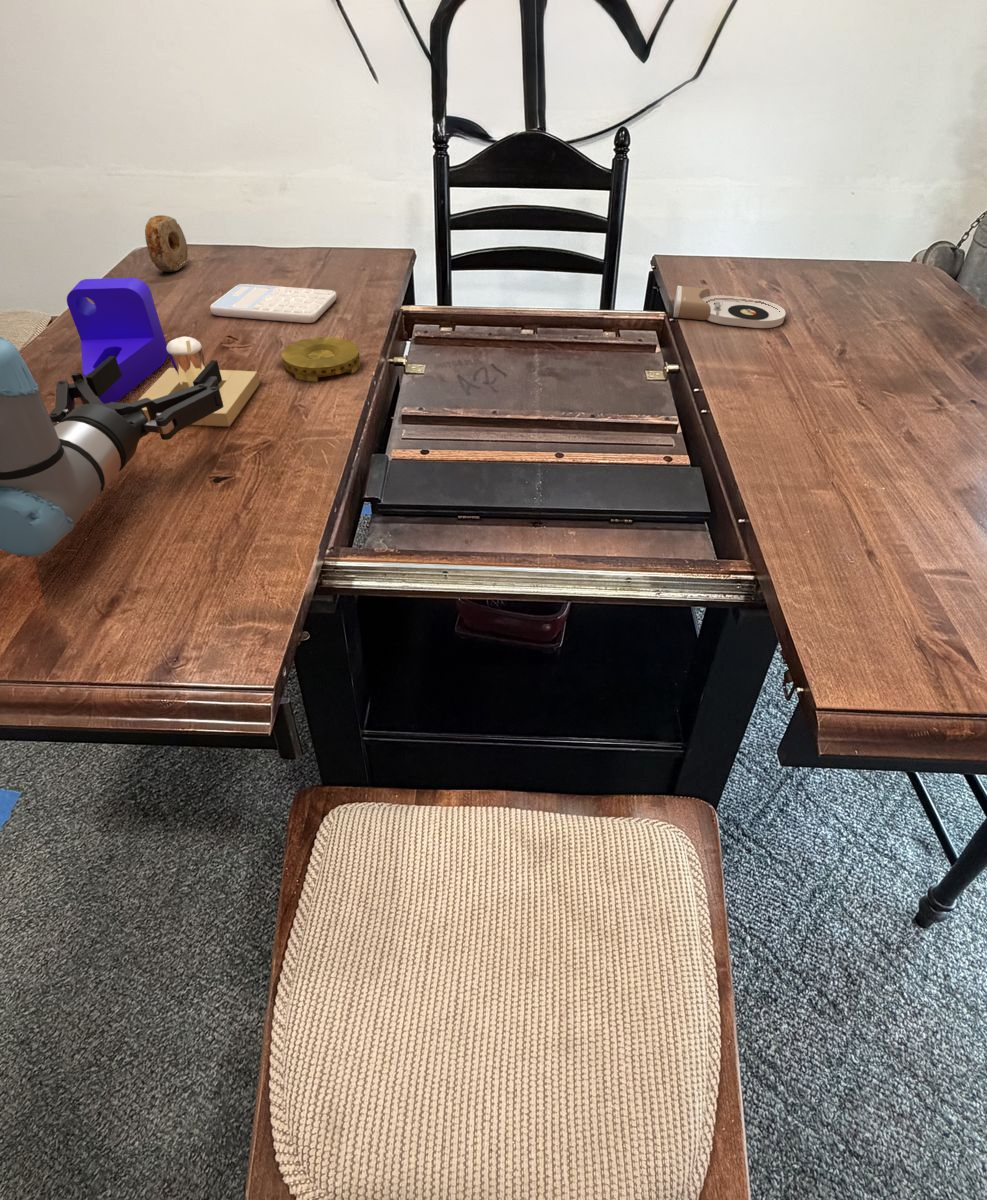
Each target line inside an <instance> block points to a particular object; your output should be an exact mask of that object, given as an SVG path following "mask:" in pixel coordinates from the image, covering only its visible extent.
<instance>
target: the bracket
mask: <svg viewBox="0 0 987 1200" xmlns="http://www.w3.org/2000/svg"><path fill="white" fill-rule="evenodd" d="M88 299H89V300H91V301H92V302H93V303H92V302H90V301H89V300H88ZM66 304H67V307H68V310H69V312H70V316H71V317H72V320H73V323H74V326H75V328H76V331H77V335H78V336H79V339H80V348H81V350H80V351H81V364H82V365H81V366H82V376H83V378H84V377H85V376H86V375H87V374H88V373H90V372H92V371H93V370H94V369H96V368H97V367H98V366H99V365H100V364H101V363H102V362H103V361H105V360H106V359H107V358H108V357H109V356H115V357H116V360H117V363H118V366H119V368H120V371H121V374H122V376H121V377H120V378H119V379H118V380H117V381H116V382H115V383H114V384H113V385H112V386H111V387H110V388H109V389H108V390H107V391H106V392H105V393H104V394H103V395H102V396H101V397H99V399H100V401H101V402H103V404H107V403H110V402H118V401H119V402H120V401H121V400H122V399H123V398H124V397H125V396H127V394H129V393H130V392H132V391H133V389H135V388H136V387H138V385H140V384H141V383H142V382H143V381H145V380H146V379H147V378H148V377H150V376H151V375H153V373H154V372H156V371H157V370H158V369H159V368H160V367H162V366H163V365H164V363H165V361H166V359H167V358H168V356H169V354H168V351H167V349H166V347H167V345H168V343H167V341H166V338H165V335H164V331H163V328H162V325H161V324H162V323H161V322H160V318H159V315H158V311H157V308H156V304H155V301H154V298H153V294H152V291H151V289H150V287H149V286H148V284H146V282H144V281H143V280H142V279H139V278H136V277H113V278H112V277H110V278H108V277H107V278H84V279H82V280H80V281H78V282H77V284H76V285H75V286H74V287H73V288H72V289H71V290H70V291H69V292H68V294H67V296H66Z"/></svg>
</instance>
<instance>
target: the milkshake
mask: <svg viewBox="0 0 987 1200" xmlns="http://www.w3.org/2000/svg"><path fill="white" fill-rule="evenodd" d="M166 349H167V351H168V356H169V359H170V361H171V364H172V366H173V368H174V369H175V371H176V374H177V376H178V379H179V382H180V384H181V387H182V390H184V389H187V388H190V387H193V386H194V385H193V381H194V380H195V379H196V378H197V376H198V375H199V374H200V373H201V372H202V371H203V369H204V368H205V367H206V366H205V359H204V353H203V346H202V343H201V342H200V341H199V340H197V339H196V338H194V337H191V336H185V335H184V336H180V337H176V338H174V339H171V340H170V341H169V342H168V343H167V347H166Z"/></svg>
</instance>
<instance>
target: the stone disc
mask: <svg viewBox="0 0 987 1200" xmlns="http://www.w3.org/2000/svg"><path fill="white" fill-rule="evenodd" d="M144 236H145V237H144V238H145V242H146V243H145V244H146V247H147V251H148V256H149V258H150V260H151V262H152V263H153V265H154V266H155V267H156V269H158V270H159V271H162V272H165V273H167V272H168V273H169V272H170V273H171V272H172V273H173V272H177V271H179V270H180V269H181V268H183V267H184V266H185V265H186V263H187V261H188V256H189V255H188V244H187V240H186V237H185V234H184V231H183V229H182V227H181V226H180V223H178V221H177V220H176V218H174V217H172V216H169V215H165V214H164V215H163V214H161V215H154V216H151V217H150V218H149V219H148V220H147V222H146V224H145V229H144ZM186 260H187V261H186ZM184 261H186V262H185V263H183V262H184ZM182 263H183V264H182ZM180 264H182V265H180ZM179 265H180V266H179ZM177 266H178V267H177Z"/></svg>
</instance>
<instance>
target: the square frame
mask: <svg viewBox="0 0 987 1200" xmlns="http://www.w3.org/2000/svg"><path fill="white" fill-rule="evenodd" d="M219 370H220V374H221V378H222V381H221V382H220V383H219V390H220V394H221V398H222V402H223V406H224V407H223V408H221V409H219V410H217V411H216V412H214V413H212V414H210V415H208V416H206V417H204V418H202V419H200V420H199V421H197V422H195V423H193V424H191V425H190V426H206V427H207V426H210V427H227V428H228V427H230V426H231V425H232V424H233V423H234V421H235V419H236V418H237V416H238V415H239V414H240V412H241V411H242V410H243V408H244V407H245V406H246V404H247V403H248V401H249V400H250V398H251V397H252V395H253V394H254V393H255V391H256V390H257V388H258V387H259V386H260V384H261V383H260V378H259V373H258V371H255V370H234V369H233V370H232V369H219ZM181 390H182V387H181V384H180V382H179V379H178V376H177V374H176V371H175V369H174V367H169V368H167V369H166V370H165V371H164V372H163V374H161V376H159V378H158V379H157V380H156V381H155V382H154V383H153V384H152V385H151V386H150V387H149V388H148V389H147V390H146V391H144V393H143V394H142V395H141V397H139V399H138V400H141V399H144V398H149V399H151V400H154V399H157V398H160V397H163V396H166V395H169V394H172V393H175V392H178V391H181ZM142 410H143V412H144V413H145V415H146V417H147V419H148V421H150V417H149V414H148V411H147V408H146V407H145V408H142Z"/></svg>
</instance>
